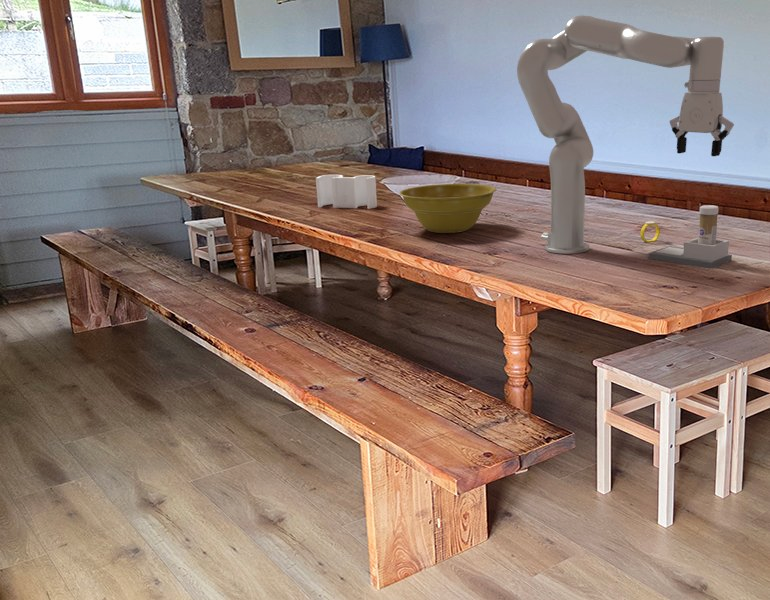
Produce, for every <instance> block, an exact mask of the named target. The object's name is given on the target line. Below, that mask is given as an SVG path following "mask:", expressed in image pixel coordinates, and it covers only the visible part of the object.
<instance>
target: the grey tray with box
mask: <svg viewBox="0 0 770 600" xmlns="http://www.w3.org/2000/svg"><path fill="white" fill-rule="evenodd" d="M729 244H730V241H729V240H726V239H719V238H716V244H715V245H705V244H698V237H696V238H693V239H690V240H687V241H684V242H683V247H679V246H672V245H668V246H665V247H663V248H660V249H657V250H654V251H651V252H648V258H647V259H650V260H655V261H661V262H667V263H668V262H669V263H675V264H681V265H687V266H694V267H699V268H707V269H714V268H715V267H718V266H720V265H723V264H726V263H728V262H731V261H732V259H733V258H732V257H733V255H732V254H730V253H729Z"/></svg>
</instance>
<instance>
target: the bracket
mask: <svg viewBox="0 0 770 600" xmlns="http://www.w3.org/2000/svg"><path fill="white" fill-rule="evenodd" d="M376 183H377V180H376V175H371V174H366V175H363V174H362V175H356V176H353V177H350V176H347V177H346V176H344V175H343V174H323V175H319V176H317V177H315V185H316V196H317V207H318V208H323V206H327V205H332V208H333V209H339V208H341V209H342V208H343V209H347V208H348V209H358V207H361V206H362V207H364V206H366V207H367V209H368V210H370V209H375V208H377V207H378V201H377V200H378V199H377V184H376Z"/></svg>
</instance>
